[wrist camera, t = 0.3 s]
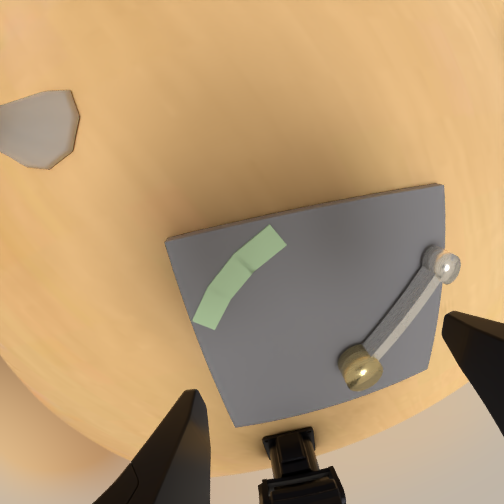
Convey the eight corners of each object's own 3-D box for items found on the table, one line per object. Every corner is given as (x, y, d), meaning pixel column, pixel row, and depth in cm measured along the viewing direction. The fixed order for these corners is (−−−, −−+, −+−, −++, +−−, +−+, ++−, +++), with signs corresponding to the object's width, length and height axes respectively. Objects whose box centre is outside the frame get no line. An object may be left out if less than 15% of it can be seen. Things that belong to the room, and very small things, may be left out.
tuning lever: (354, 376, 25) (364, 394, 23) (330, 366, 24) (339, 386, 22) (447, 257, 22) (466, 267, 19) (430, 237, 21) (449, 246, 18)
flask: (84, 159, 18) (0, 167, 9) (23, 179, 18) (-56, 198, 9) (80, 77, 16) (6, 45, 7) (20, 105, 16) (-56, 97, 6)
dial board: (422, 363, 28) (428, 369, 27) (234, 419, 28) (235, 428, 27) (435, 183, 21) (445, 185, 20) (167, 237, 21) (163, 242, 20)
